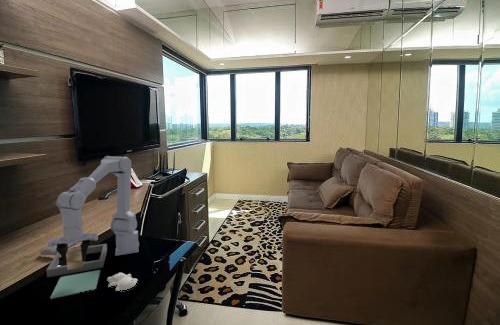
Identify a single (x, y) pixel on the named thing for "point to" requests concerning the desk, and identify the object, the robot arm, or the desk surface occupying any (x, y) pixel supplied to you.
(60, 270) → the box
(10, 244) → the desk surface
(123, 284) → the white fluffy flat lump
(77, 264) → the maple block
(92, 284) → the teal mat
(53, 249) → the stone block
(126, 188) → the robot arm
